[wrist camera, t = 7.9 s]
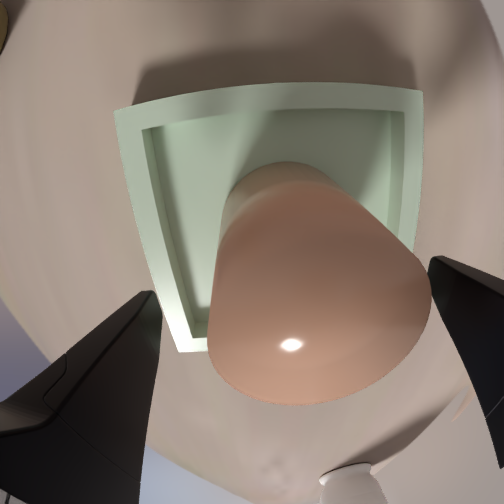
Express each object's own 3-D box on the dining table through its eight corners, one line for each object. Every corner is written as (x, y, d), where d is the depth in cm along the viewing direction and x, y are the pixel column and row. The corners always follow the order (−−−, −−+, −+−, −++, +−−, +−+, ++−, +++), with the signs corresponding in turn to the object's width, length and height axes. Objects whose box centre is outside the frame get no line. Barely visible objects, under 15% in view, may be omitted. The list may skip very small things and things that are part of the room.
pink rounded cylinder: (347, 158, 11) (453, 222, 5) (343, 271, 14) (401, 383, 8) (212, 168, 11) (180, 250, 5) (230, 284, 14) (228, 413, 8)
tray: (401, 90, 10) (422, 91, 9) (384, 304, 16) (396, 324, 14) (129, 109, 10) (113, 111, 9) (183, 329, 16) (178, 352, 14)
